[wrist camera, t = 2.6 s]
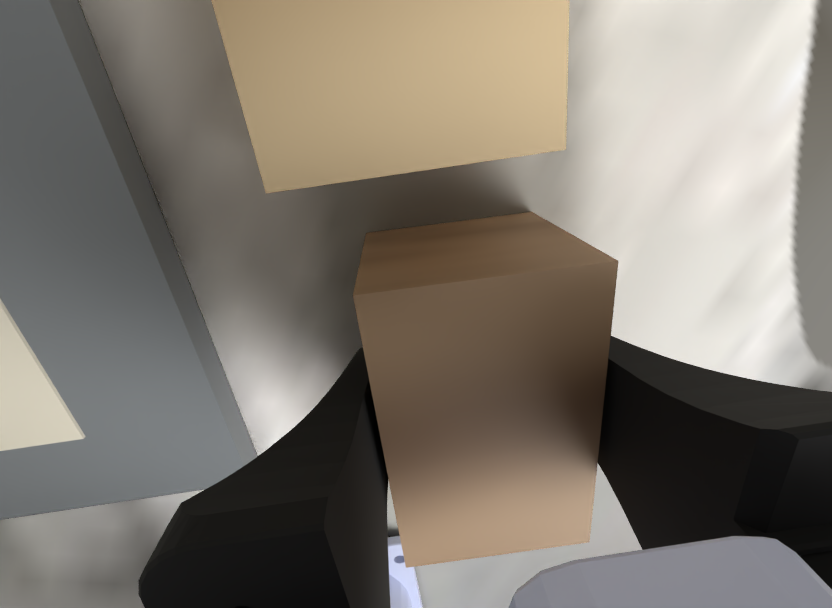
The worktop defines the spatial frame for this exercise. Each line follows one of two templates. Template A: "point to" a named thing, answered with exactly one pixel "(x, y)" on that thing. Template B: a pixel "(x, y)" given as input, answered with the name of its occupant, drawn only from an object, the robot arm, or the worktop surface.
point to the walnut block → (487, 381)
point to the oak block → (395, 84)
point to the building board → (93, 295)
